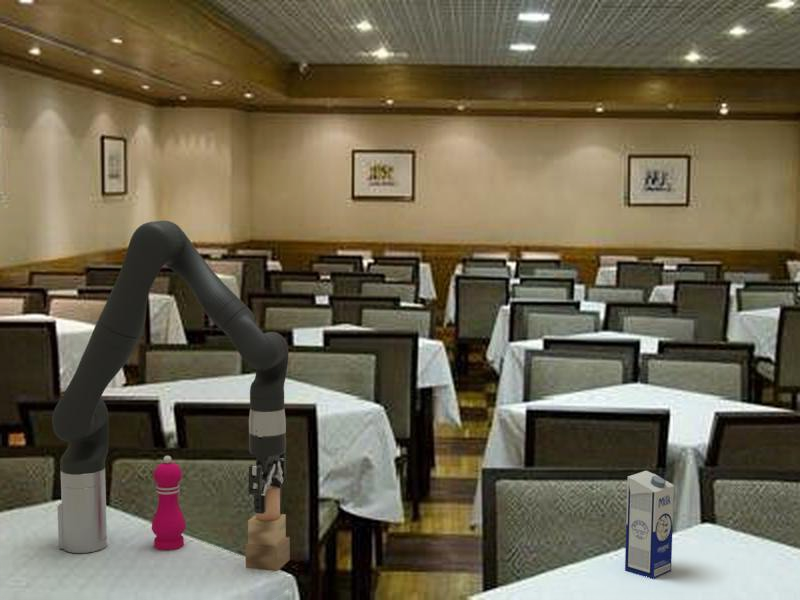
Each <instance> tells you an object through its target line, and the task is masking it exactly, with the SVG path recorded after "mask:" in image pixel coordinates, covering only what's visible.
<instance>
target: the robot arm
mask: <svg viewBox="0 0 800 600" xmlns="http://www.w3.org/2000/svg"><path fill="white" fill-rule="evenodd" d="M164 266H166V267H167V268H169V269H171V270H172V271H173V272H174V273H175V274H177V275H178V276H179V277H180V278H181V279H182V280H183V281H184V282H185V283H186V285H187V286H188V287H189V289H190V290H191V292H192V294H193V295H194V297H195V298H196V300H197V302H198V304H199V306H200V307H201V309H202V310H203V312H204V313H205V314H206V316H207V317H208V318H209V319H210V320H211V321H212V322H213V323H214V324H215V325H216V326H217V327H218V328H219V329H220V330H221V331H222V332H223V333H224V334H225V335H226V336H227V337H228V338H229V340H230V342H231V343H232V345H233V346H234V348H235V350H236V351H237V352H238V354H239V355H240V356H241V358H242V359H243V360H244V362H246V363H247V364H248V365H249V366H250V367H252V368H253V369H255V375H254V376H255V377H254V378H253V381H252V382H251V384H250V387H249V388H250V389H249V416H248V444H249V445H248V451H249V453H250V454H251V455H252V456H255V458H256V460H255V464H250V465H249V466H248V491H247V492H248V495H252V496H253V510H254V513H255V514H256V513H259V514H263V513H265V511H266V499H265V493H266V489H267V486H275V487H278V488H280V502H281V501H282V484H283V482H284V479H286V477H287V456H286V454H287V453H286V451H287V430H286V429H287V426H286V425H287V424H286V423H287V421H286V413H285V412H286V411H285V382H286V377H287V371H288V365H289V348H288V347H289V346H288V343H287V341H286V339H285V338H284V336H283V335H282V334H280V333H279V332H276V331H267V332H263V331H262V330H261V329H260V327H259V326H258V325H257V323H256V322H255V320H256V316H255V314H254V313H253V311H252V310H251V309H250V308H249V307H248V306H247V305H246V304H245V303H244V302H243V301H242V300H241V299H240V298H239V296H237V295H236V294H235V293H234V292H233V291H232V290H231V289H230V288H229V287H228V286H227V285H226V283H224V282H223V281H222V280H221V278H219V276H218V275H217V274H216V273H215V272H214V270H213V269H212V268H211V267H210V266H209V264H208V263H207V262H206V260H205V259H204V257H202V255H201V254H200V253H199V251H198V250H197V249H196V248H195V246H194V244H193V243H192V241H191V240H190V239H189V237H188V236H187V234H186V233H185V232H184V231H183V230H182V228H181V227H180V226H179V225H178V224H176V223H175V222H172V221H169V220H157V221H156V220H155V221H149V222H145V223H143V224H141V225H140V226H139V227H137V228H136V229H135V231H134V232H133V233H132V236H131V238H130V240H129V243H128V246H127V250H126V252H125V256H124V259H123V262H122V265H121V269H120V271H119V274H118V276H117V279H116V281H115V283H114V285H113V287H112V288H111V292H110V293H109V295H108V298H107V300H106V303H105V305H104V306H103V309H102V311H101V313H100V315H99V317H98V320H97V322H96V324H95V326H94V328H93V330H92V333H91V335H90V338H89V340H88V343H87V345H86V347H85V350H84V352H83V354H82V356H81V358H80V361H79V363H78V365H77V368H76V370H75V372H74V374H73V377H72V378H71V380H70V382H69V383H68V385H67V387H66V389H65V391H64V392H63V395H61V397H60V399H59V401H58V402H57V404H56V406H55V408H54V410H53V412H52V417H51V418H52V419H51V421H52V422H51V424H52V428H53V431H54V434H55V435H56V436H57V438H59V439H60V440H61V441H63V442H67V443H68V444H67V448H66V449H65V452H64V453H63V454H62V456H61V458H60V462H59V463H60V466H59V467H60V492H61V493H60V495H61V503H60V504H58V505H57V529H58V533H57V534H58V549H61V550H64V551H65V552H68V553H74V554H85V553H86V554H88V553H94V552H98V551H100V550H102V549H105V547H107V545H108V543H107V542H108V540H107V539H108V533H107V531H108V530H107V529H108V527H107V525H108V524H107V498H106V497H107V493H106V491H107V487H106V460H107V459H106V458H107V456H108V453H109V435H110V434H109V433H110V431H109V430H110V426H109V425H110V423H109V422H110V421H109V411H108V408H107V405H106V403H105V401H104V400H103V399H102V396H103V393H104V392H105V390H106V388H107V387H108V386H109V385H110V383H111V382H112V381H113V380H114V378H115V377H116V376H117V375H118V374H119V372H120V371H121V370H122V368H123V367H124V366H125V365H126V364H127V362H128V360H129V359H130V357H131V356H132V354H133V353H134V352H135V351H134V350H135V348H136V347H137V344H138V342H139V340H140V338H141V336H142V333H143V330H144V329H145V324H146V317H147V305H148V304H147V303H148V297H149V295H150V294H149V293H150V291H151V289H152V287H153V285H154V282H155V281H156V278H157V277H158V275H159V273H160V272H161V270H162V268H163V267H164ZM262 486H263V487H262Z"/></svg>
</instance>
